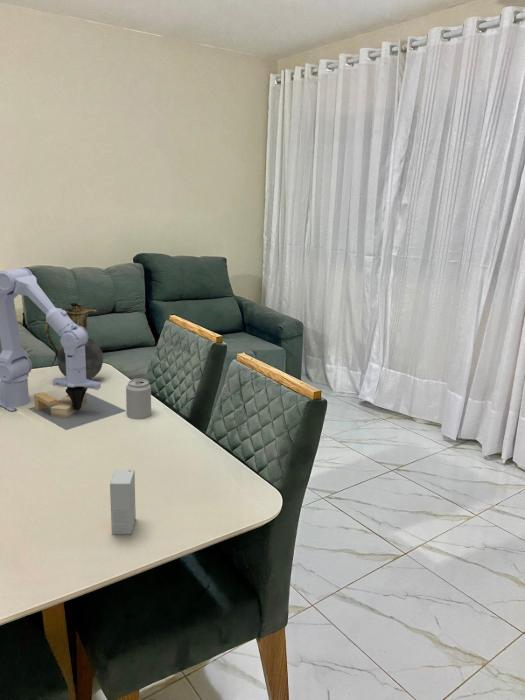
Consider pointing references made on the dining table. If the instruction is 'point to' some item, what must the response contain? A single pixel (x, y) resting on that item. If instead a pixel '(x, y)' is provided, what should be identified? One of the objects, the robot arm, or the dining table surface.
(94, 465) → the dining table surface
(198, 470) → the dining table surface
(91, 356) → the pitcher
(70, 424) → the slate board
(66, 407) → the oak link
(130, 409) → the can
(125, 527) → the skincare box
